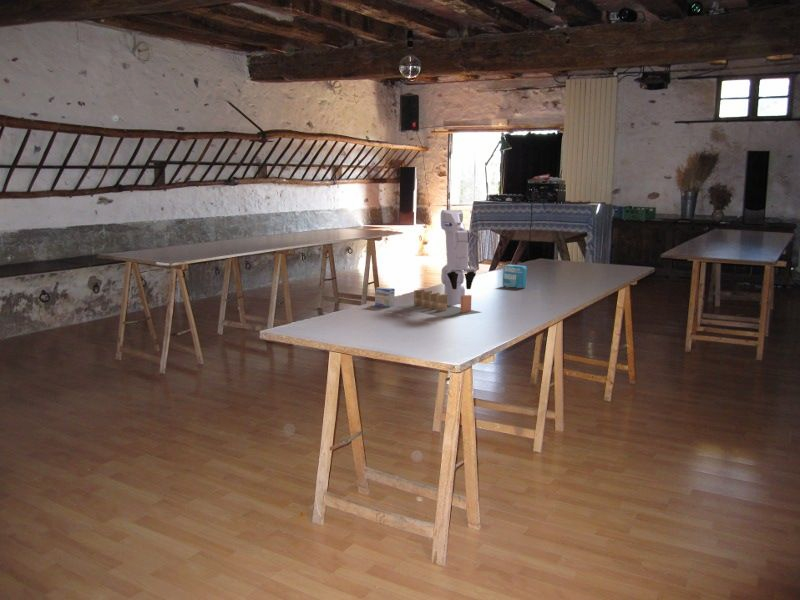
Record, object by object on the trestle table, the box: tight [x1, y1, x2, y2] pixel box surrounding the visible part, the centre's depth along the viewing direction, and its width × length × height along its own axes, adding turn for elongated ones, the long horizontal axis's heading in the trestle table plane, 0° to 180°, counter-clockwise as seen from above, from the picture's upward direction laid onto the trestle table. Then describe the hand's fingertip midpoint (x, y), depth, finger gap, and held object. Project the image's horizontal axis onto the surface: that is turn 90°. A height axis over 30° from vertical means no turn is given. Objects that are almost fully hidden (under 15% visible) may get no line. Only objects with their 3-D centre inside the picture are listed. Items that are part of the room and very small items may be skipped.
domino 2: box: [421, 290, 433, 308], centre depth 309 cm, size 2×5×7 cm, turn 130°
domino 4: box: [436, 293, 448, 312], centre depth 301 cm, size 2×5×7 cm, turn 130°
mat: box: [397, 303, 482, 319], centre depth 305 cm, size 22×32×1 cm
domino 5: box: [460, 294, 472, 313], centre depth 300 cm, size 2×5×7 cm, turn 130°
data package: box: [502, 264, 528, 289], centre depth 371 cm, size 12×4×12 cm, turn 58°
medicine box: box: [374, 286, 396, 308], centre depth 311 cm, size 8×4×9 cm, turn 62°
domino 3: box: [429, 291, 440, 310], centre depth 305 cm, size 2×5×7 cm, turn 130°
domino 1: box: [413, 289, 426, 306], centre depth 313 cm, size 2×5×7 cm, turn 130°
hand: (461, 289), depth 298 cm, fingers open, 7 cm apart
